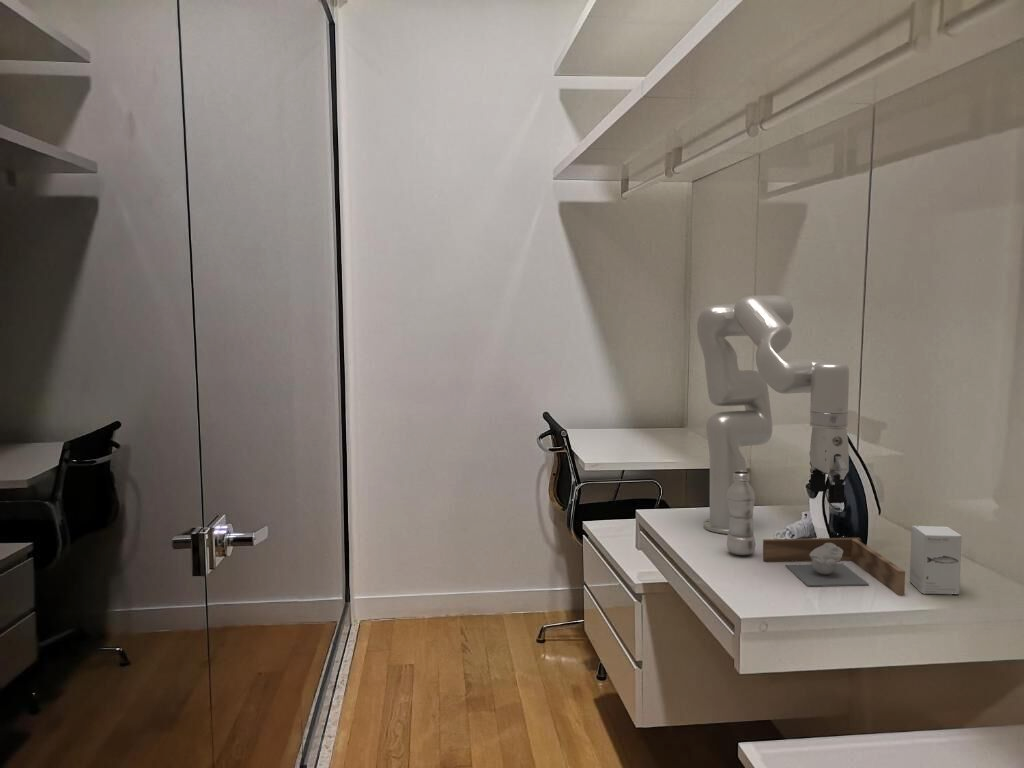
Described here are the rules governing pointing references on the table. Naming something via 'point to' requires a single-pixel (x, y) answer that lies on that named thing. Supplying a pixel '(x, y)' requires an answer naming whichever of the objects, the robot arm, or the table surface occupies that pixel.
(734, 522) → the plastic bottle
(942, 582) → the supplement box
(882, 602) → the table surface
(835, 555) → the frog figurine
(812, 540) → the corner walls
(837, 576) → the slate mat
